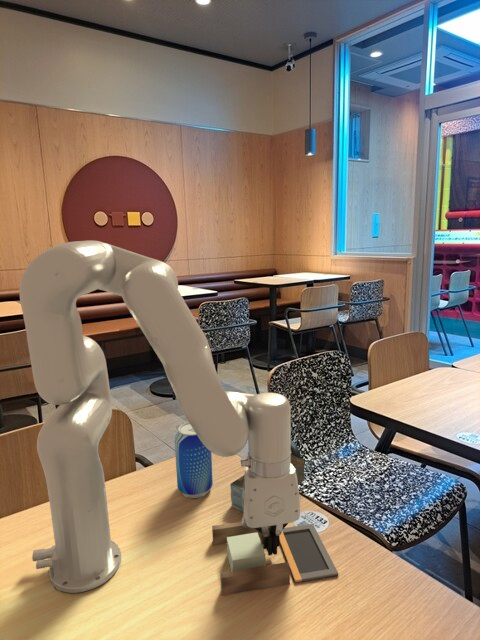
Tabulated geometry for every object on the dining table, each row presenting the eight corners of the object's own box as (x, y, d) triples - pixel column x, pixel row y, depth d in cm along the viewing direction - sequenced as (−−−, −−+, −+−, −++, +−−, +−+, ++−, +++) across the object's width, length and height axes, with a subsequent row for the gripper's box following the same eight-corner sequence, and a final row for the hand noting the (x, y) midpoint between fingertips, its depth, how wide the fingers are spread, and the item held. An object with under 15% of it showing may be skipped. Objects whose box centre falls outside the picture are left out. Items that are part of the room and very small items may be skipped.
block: (233, 579, 78) (232, 560, 77) (227, 555, 84) (226, 537, 83) (265, 573, 79) (265, 554, 78) (257, 550, 85) (257, 532, 84)
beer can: (183, 504, 99) (179, 439, 96) (173, 484, 107) (169, 424, 103) (218, 494, 102) (215, 431, 99) (205, 476, 110) (203, 417, 106)
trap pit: (295, 583, 77) (295, 580, 76) (275, 531, 89) (275, 529, 89) (338, 575, 78) (338, 572, 78) (312, 526, 91) (312, 523, 91)
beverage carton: (229, 506, 98) (228, 480, 97) (279, 470, 112) (279, 447, 111) (256, 521, 93) (255, 493, 92) (306, 481, 107) (306, 457, 106)
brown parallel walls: (222, 595, 74) (221, 578, 74) (212, 541, 87) (212, 525, 86) (289, 584, 76) (289, 567, 76) (270, 532, 89) (270, 517, 89)
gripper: (232, 478, 73) (235, 571, 77) (316, 467, 76) (315, 558, 80) (225, 456, 81) (228, 542, 85) (302, 446, 83) (302, 530, 87)
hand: (270, 549), depth 82 cm, fingers closed
